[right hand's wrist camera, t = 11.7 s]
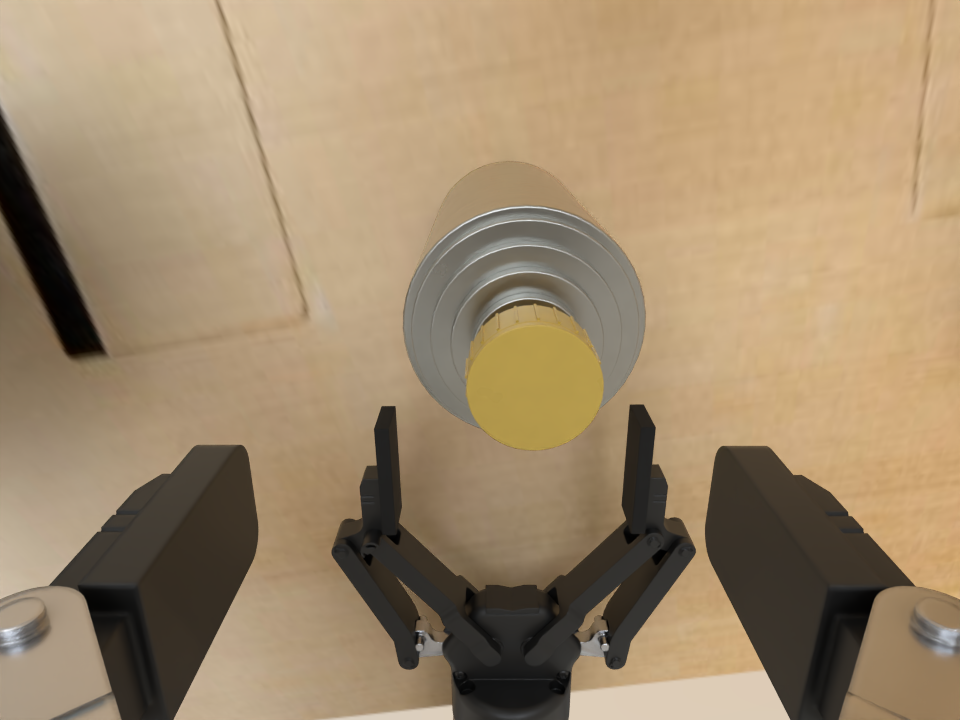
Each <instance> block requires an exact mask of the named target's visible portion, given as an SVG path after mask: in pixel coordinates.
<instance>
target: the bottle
mask: <svg viewBox="0 0 960 720" xmlns="http://www.w3.org/2000/svg"><path fill="white" fill-rule="evenodd" d="M533 304H537V305H539V306H545V307H550V308H553V307H555V308H556V309H557V310H558V311H561V312H563V313H565V314H566V315H568V316H569V317H570V316H572V317H573V318H574V321H576V322H577V323H578V324H579V326H580V327H581V328H582V329H585V330H586V332H587V334H588V336H589V338H590V341H591V343H592V345H594V348H595V350H596V352H597V354H598V357H599V359H600V361H601V364H600V367H601V370H602V373H603V380H604V392H603V398H602V402H601V405H600V408H601V407H602V406H604V405H605V404H606V403H607V402H608V401H609V400H610V399H611V398H612V397H613V396H614V395H615V394H616V393H617V391H618V390H619V389H620V388H621V386H622V385H623V384H624V383H625V381H626V379H627V378H628V376H629V375H630V373H631V371H632V370H633V367H634V365H635V363H636V361H637V359H638V356H639V353H640V350H641V346H642V343H643V338H644V332H645V314H646V312H645V303H644V296H643V292H642V288H641V285H640V281H639V279H638V277H637V274H636V272H635V269H634V267H633V266H632V264H631V262H630V261H629V259H628V257H627V256H626V254H625V253H624V252H623V250H622V249H621V248H620V247H619V245H618V244H617V243H616V242H615V241H614V240H613V239H612V238H611V236H610V235H609V234H608V233H607V232H606V231H605V230H604V229H603V228H602V227H601V226H600V225H599V224H598V222H597V221H596V220H595V219H594V218H593V217H592V216H591V215H590V214H589V213H588V212H587V211H586V210H585V208H584V207H583V206H582V205H581V204H580V203H579V202H578V201H577V200H576V199H575V198H574V197H573V196H572V194H571V193H570V192H569V191H568V190H567V189H566V188H565V187H564V186H563V185H562V184H561V183H560V182H559V181H558V180H557V179H556V178H555V177H553V176H552V175H551V174H549V173H548V172H546V171H544V170H542V169H540V168H538V167H536V166H533V165H530V164H526V163H521V162H510V161H508V162H497V163H492V164H488V165H485V166H483V167H480V168H478V169H476V170H474V171H472V172H470V173H469V174H467V175H466V176H465V177H463V178H462V179H461V180H460V181H459V182H458V183H457V184H455V186H454V187H453V188H452V189H451V190H450V192H449V193H448V195H447V196H446V198H445V199H444V201H443V203H442V206H441V208H440V210H439V212H438V215H437V217H436V220H435V222H434V225H433V227H432V230H431V232H430V235H429V237H428V240H427V242H426V245H425V247H424V250H423V252H422V255H421V257H420V260H419V262H418V265H417V267H416V270H415V272H414V275H413V277H412V280H411V282H410V285H409V288H408V292H407V295H406V299H405V305H404V311H403V332H404V341H405V346H406V349H407V353H408V357H409V359H410V362H411V364H412V367H413V369H414V371H415V373H416V375H417V377H418V378H419V380H420V382H421V383H422V385H423V386H424V387H425V389H426V390H427V391H428V393H429V394H430V395H431V396H432V397H433V398H434V399H435V400H436V401H437V402H438V403H439V404H440V405H441V406H442V407H444V408H445V409H446V410H447V411H449V412H450V413H451V414H453V415H454V416H456V417H458V418H459V419H461V420H463V421H465V422H467V423H469V424H471V425H473V426H476V427H478V428H481V427H480V426H479V425H478V423H477V422H476V421H475V419H474V417H473V415H472V413H471V411H470V408H469V405H468V401H467V397H466V380H467V379H465V366H466V358H468V356H469V351H470V343H471V341H474V339H475V337H476V335H477V334H478V332H479V331H480V327H481V326H482V325H483V326H484V325H485V324H486V323H487V322H488V321H490V320H491V319H492V318H493V317H495V314H497V313H498V314H500V313H502V312H504V311H506V310H508V309H512V308H514V306H517V307H519V306H526V305H533ZM600 408H599V409H600ZM481 429H482V428H481Z"/></svg>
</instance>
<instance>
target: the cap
mask: <svg viewBox="0 0 960 720" xmlns="http://www.w3.org/2000/svg"><path fill="white" fill-rule="evenodd" d="M600 364H601V361H600V359H599V357H598V354H597V352H596V350H595V348H594V345H592V343H591V341H590V338H589V336H588V334H587V332H586V330H585V329H582V328H581V327H580V326H579V324H578V323H577V322H576V321H574V318H573V317H572V316H570V317H569V316H568V315H566V314H565V313H563V312H561V311H558V310H557V309H556V308H555V307H553V308H550V307H545V306H539V305H537V304H533V305H526V306H519V307H517V306H514V308H512V309H508V310H506V311H504V312H502V313H500V314H498V313H497V314H495V317H493V318H492V319H491V320H490V321H488V322H487V323H486V324H485V325H484V326H483V325H482V326H481V327H480V331H479V332H478V334H477V335H476V337H475V339H474V341H471V343H470V351H469V356H468V358H466V366H465V379H467V380H466V397H467V401H468V405H469V408H470V411H471V413H472V415H473V417H474V419H475V421H476V422H477V423H478V425H479V426H480V427H481V428H482V429H483V430H484V431H485V432H486V433H487V434H488V435H489V436H491V437H492V438H493V439H495V440H497V441H498V442H500V443H502V444H504V445H507V446H509V447H513V448H516V449H522V450H533V451H534V450H545V449H551V448H554V447H557V446H560V445H562V444H565V443H567V442H569V441H570V440H572V439H574V438H575V437H577V436H578V435H579V434H581V433H582V432H583V431H584V430H585V429H586V428H587V427H588V426H589V424H590V423H591V422H592V421H593V419H594V417H595V416H596V414H597V412H598V410H599V408H600V405H601V402H602V398H603V392H604V380H603V373H602V370H601V367H600Z"/></svg>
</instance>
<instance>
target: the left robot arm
mask: <svg viewBox="0 0 960 720" xmlns="http://www.w3.org/2000/svg"><path fill="white" fill-rule="evenodd" d="M655 428H656V427H655V425H654V423H653V422H652V420H651V418H650V416H649V414H648V412H647V410H646V408H645V406H644V405H630V409H629V422H628V434H627V446H626V458H625V471H624V483H623V495H622V508H623V511H624V514H625V517H626V521H625V522H624V523H623V524H622V525H621V526H620V527H619V528H617V529H616V530H615V531H614V532H613V533H612V534H611V535H610V536H609V537H608V538H607V539H605V540H604V541H603V542H602V543H601V544H600V545H599V546H598V547H597V548H596V549H595V550H593V551H592V552H591V553H590V554H589V555H588V556H587V557H586V558H585V559H584V560H583V561H581V562H580V563H579V564H578V565H577V566H576V567H575V568H574V569H573V570H572V571H571V572H570V573H568V574H567V575H566V576H563V575H560V576H558V577H557V578H556V579H555V580H554V581H553V582H552V583H551V584H550V585H549V586H547V587H546V588H545V589H544V590H543V591H542V590H539V589H537V586H536V585H522V586H517V587H513V588H509V587H505V586H500V585H486V589H484V590H481V591H478V590H477V589H476V588H475V587H474V586H472V585H471V584H470V583H469V582H468V581H467V580H466V579H465V578H464V577H463V576H460V575H459V576H456V575H454V574H453V573H452V572H451V571H450V570H449V569H448V568H447V567H446V566H445V565H444V564H443V563H441V562H440V561H439V560H438V559H437V558H436V557H435V556H434V555H433V554H432V553H431V552H430V551H429V550H427V549H426V548H425V547H424V546H423V545H422V544H421V543H420V542H419V541H418V540H417V539H416V538H414V537H413V536H412V535H411V534H410V533H409V532H408V531H407V530H406V529H405V528H404V527H403V526H402V525H400V524H399V518H400V513H401V508H402V503H401V487H400V471H399V455H398V439H397V423H396V408H395V406H382V407H381V410H380V413H379V416H378V419H377V422H376V425H375V428H374V433H375V446H376V459H377V466H367V467H366V470H365V472H364V475H363V479H362V482H361V485H360V496H361V507H362V518H361V519H359V520H354V519H345V520H344V521H342V523H341V525H340V528H339V530H338V533H337V536H336V539H335V542H334V545H333V548H332V556H333V558H334V559H335V560H336V562H337V563H338V565H339V566H340V567H341V569H342V570H343V572H344V573H345V574H346V576H347V577H348V578H349V580H350V581H351V583H352V584H353V585H354V587H355V588H356V590H357V591H358V592H359V594H360V595H361V596H362V598H363V599H364V601H365V602H366V603H367V605H368V606H369V608H370V609H371V610H372V612H373V613H374V615H375V616H376V617H377V619H378V620H379V621H380V623H381V624H382V626H383V627H384V628H385V630H386V631H387V633H388V634H389V635H390V637H391V638H392V639H393V641H394V643H395V648H396V652H397V657H398V661H399V664H400V666H401V667H402V668H404V669H409V670H411V669H414V668H416V667H417V666H418V663H419V657H427V656H438V655H444V657H445V659H446V660H447V661H448V662H449V664H450V666H451V678H452V706H453V720H568V718H569V708H570V690H571V672H572V667H573V664H574V663H575V661H576V660H577V659H578V658H579V656H580V655H585V656H597V657H605V662H606V665H607V667H609V668H610V669H620V668H622V667H623V666H624V665H625V663H626V659H627V655H628V651H629V647H630V643H631V640H632V639H633V638H634V636H635V635H636V634H637V632H638V631H639V630H640V628H641V627H642V626H643V624H644V623H645V622H646V620H647V619H648V618H649V616H650V615H651V613H652V612H653V611H654V609H655V608H656V607H657V605H658V604H659V603H660V601H661V600H662V599H663V597H664V596H665V595H666V593H667V592H668V591H669V589H670V588H671V587H672V585H673V584H674V582H675V581H676V580H677V578H678V577H679V576H680V574H681V573H682V572H683V570H684V569H685V568H686V566H687V565H688V564H689V562H690V561H691V560H692V558H693V557H694V555H695V553H696V549H695V547H694V545H693V542H692V540H691V538H690V536H689V534H688V532H687V530H686V528H685V525H684V523H683V522H682V520H681V519H679V518H676V517H674V518H670V519H666V518H664V517H665V508H666V499H667V490H668V485H667V482H666V479H665V477H664V475H663V473H662V471H661V468H660V466H659V465H652V458H653V448H654V438H655ZM396 577H397V578H398V579H400V580H401V581H402V582H403V583H404V584H405V585H406V586H407V587H409V588H410V589H411V590H412V591H413V592H414V593H415V594H416V595H418V596H419V597H420V598H421V599H422V600H423V601H424V602H425V603H426V604H428V605H429V606H430V607H431V608H432V609H433V610H434V611H435V612H437V613H438V614H439V616H440V617H441V620H442V623H443V625H444V626H445V629H444V631H443V632H439V631H436V630H434V629H433V628H432V627H431V625H430V623H429V622H427V617H426V616H419V615H418V611H417V609H416V606H415V604H414V603H413V601H412V599H411V598H410V597H409V595H408V594H407V592H406V591H405V589H404V588H403V586H402V585H401V583H400V582H399V581H398V579H397V578H396ZM620 584H621V585H620ZM619 585H620V586H619ZM618 586H619V588H618V589H617V591H616V592H615V593H614V595H613V596H612V598H611V599H610V601H609V602H608V604H607V606H606V608H605V610H604V613H603V616H601V615H598V616H596V617H595V618H594V621H595V622H594V623H593V624H592V626H591V627H590V628H589V629H588V630H586V631H583V632H579V631H578V628H580V626H581V625H582V624H583V621H584V618H585V616H586V614H587V613H588V612H589V611H590V610H592V609H593V608H594V607H595V606H596V605H597V604H598V603H599V602H601V601H602V600H603V599H604V598H605V597H606V596H607V595H609V594H610V593H611V592H612V591H613V590H614V589H615V588H617V587H618Z"/></svg>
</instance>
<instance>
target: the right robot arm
mask: <svg viewBox="0 0 960 720" xmlns="http://www.w3.org/2000/svg"><path fill="white" fill-rule="evenodd" d="M116 512H117V513H116V515H112V516H111V517H110V519H109V520H108V521H107V522H106V523H105V524H104V525H103V526H102V527H101V532H97V533H96V534H95V535H94V536H93V537H92V539H91V540H90V541H89V542H88V543H87V544H86V545H85V546H84V547H83V548H82V550H81V551H80V552H79V553H78V554H77V555H76V556H75V557H74V558H73V560H72V561H71V562H70V563H69V564H68V565H67V566H66V567H65V568H64V570H63V571H62V572H61V573H60V574H59V575H58V576H57V577H56V578H55V580H54V581H53V582H52V583H51V584H50V585H49V586H46V587H38V588H33V589H29V590H25V591H22V592H18V593H15V594H13V595H10V596H7V597H5V598H3V599H1V600H0V720H173V719H174V717H175V715H176V713H177V711H178V709H179V707H180V705H181V703H182V701H183V699H184V697H185V695H186V693H187V691H188V689H189V687H190V685H191V683H192V681H193V679H194V677H195V675H196V673H197V671H198V669H199V667H200V665H201V663H202V661H203V659H204V657H205V655H206V653H207V651H208V649H209V647H210V645H211V643H212V641H213V639H214V637H215V635H216V633H217V631H218V629H219V628H220V626H221V624H222V622H223V620H224V618H225V616H226V614H227V612H228V610H229V608H230V606H231V604H232V602H233V600H234V598H235V596H236V594H237V592H238V590H239V588H240V586H241V584H242V582H243V580H244V578H245V576H246V574H247V572H248V570H249V568H250V566H251V564H252V561H253V559H254V556H255V553H256V548H257V542H258V520H257V513H256V506H255V499H254V492H253V485H252V478H251V471H250V464H249V457H248V454H247V451H246V449H245V447H244V446H242V445H196V446H195V447H193V448H192V450H191V451H190V452H189V453H188V454H187V455H186V457H185V458H184V459H183V460H182V461H181V463H180V464H179V465H178V466H177V467H176V468H175V470H174V471H173V472H172V473H171V474H161V475H160V476H158V477H156V478H155V479H153V480H151V481H150V482H148V483H147V484H145V485H143V486H142V487H140V488H138V489H137V490H135V491H134V492H133V493H132V494H131V495H130V496H129V497H128V499H127V500H126V501H125V502H124V503H123V504H122V505H121V506H120V507H119V509H118V510H117V511H116ZM705 540H706V548H707V552H708V556H709V559H710V562H711V564H712V566H713V568H714V570H715V572H716V574H717V576H718V578H719V580H720V582H721V584H722V586H723V588H724V590H725V592H726V594H727V596H728V598H729V600H730V601H731V603H732V605H733V607H734V609H735V611H736V613H737V615H738V617H739V619H740V621H741V623H742V625H743V627H744V629H745V631H746V633H747V635H748V637H749V639H750V641H751V643H752V645H753V647H754V649H755V651H756V653H757V655H758V657H759V659H760V661H761V663H762V665H763V667H764V669H765V670H766V672H767V674H768V676H769V678H770V680H771V682H772V684H773V686H774V688H775V690H776V692H777V694H778V696H779V698H780V700H781V702H782V704H783V706H784V708H785V710H786V712H787V714H788V716H789V718H790V720H960V600H959V599H957V598H955V597H953V596H950V595H947V594H945V593H942V592H938V591H935V590H931V589H927V588H922V587H916V586H915V585H914V584H913V583H912V582H911V581H910V580H909V579H908V578H907V576H906V575H905V574H904V573H903V572H902V571H901V570H900V569H899V568H898V567H897V565H896V564H895V563H894V562H893V561H892V560H891V559H890V558H889V557H888V556H887V554H886V553H885V552H884V551H883V550H882V549H881V548H880V547H879V546H878V545H877V543H876V542H875V541H874V540H873V539H872V538H871V537H870V536H869V535H868V534H867V533H864V532H863V528H862V527H861V526H860V525H859V524H858V523H857V521H856V520H855V519H854V518H853V517H852V516H848V512H847V510H846V509H845V508H844V507H843V506H842V505H841V504H840V503H839V502H838V501H837V499H836V498H835V497H834V496H833V495H832V494H831V493H830V492H829V491H827V490H825V489H824V488H822V487H821V486H819V485H817V484H816V483H814V482H812V481H811V480H809V479H807V478H806V477H804V476H802V475H793V474H792V473H791V472H790V471H789V469H788V468H787V467H786V466H785V465H784V464H783V462H782V461H781V460H780V459H779V458H778V457H777V455H776V454H775V453H774V452H773V451H772V450H771V449H770V448H769V447H767V446H722V447H720V448H719V449H718V451H717V453H716V457H715V462H714V468H713V475H712V482H711V489H710V496H709V503H708V510H707V517H706V524H705Z"/></svg>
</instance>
